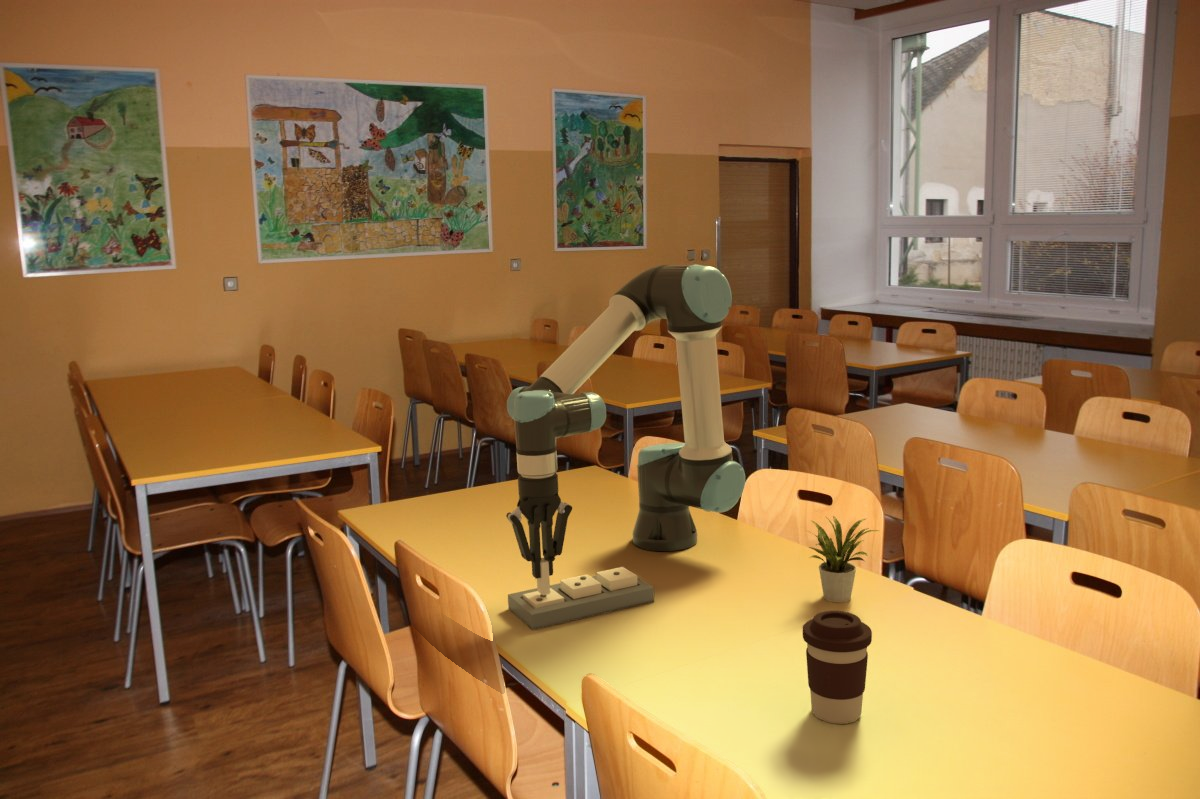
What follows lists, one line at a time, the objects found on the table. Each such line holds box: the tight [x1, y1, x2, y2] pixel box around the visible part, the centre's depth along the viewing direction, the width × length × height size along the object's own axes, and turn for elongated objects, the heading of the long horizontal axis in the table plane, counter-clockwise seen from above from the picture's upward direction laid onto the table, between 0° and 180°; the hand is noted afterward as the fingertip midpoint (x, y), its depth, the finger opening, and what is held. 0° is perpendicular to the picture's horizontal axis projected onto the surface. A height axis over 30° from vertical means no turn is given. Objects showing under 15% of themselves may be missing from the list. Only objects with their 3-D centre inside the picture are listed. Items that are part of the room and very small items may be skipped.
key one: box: [595, 566, 638, 591], centre depth 194 cm, size 6×6×2 cm
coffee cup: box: [802, 610, 873, 725], centre depth 145 cm, size 10×10×15 cm
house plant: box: [806, 515, 879, 603], centre depth 189 cm, size 14×14×16 cm
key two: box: [559, 574, 601, 599], centre depth 191 cm, size 6×6×2 cm
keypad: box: [507, 575, 655, 631], centre depth 191 cm, size 26×12×3 cm, turn 117°
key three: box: [523, 588, 564, 609], centre depth 187 cm, size 6×6×2 cm
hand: (543, 592), depth 187 cm, fingers closed
